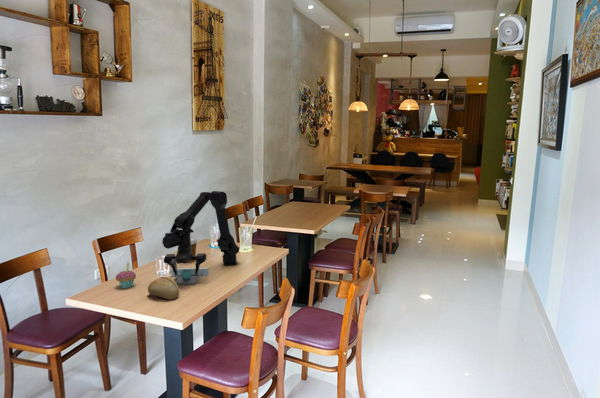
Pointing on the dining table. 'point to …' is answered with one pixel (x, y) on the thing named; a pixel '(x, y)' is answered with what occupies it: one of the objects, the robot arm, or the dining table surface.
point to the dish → (191, 281)
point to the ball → (186, 274)
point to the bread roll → (164, 288)
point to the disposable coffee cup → (193, 248)
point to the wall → (192, 271)
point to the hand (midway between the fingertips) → (186, 275)
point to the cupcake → (126, 278)
